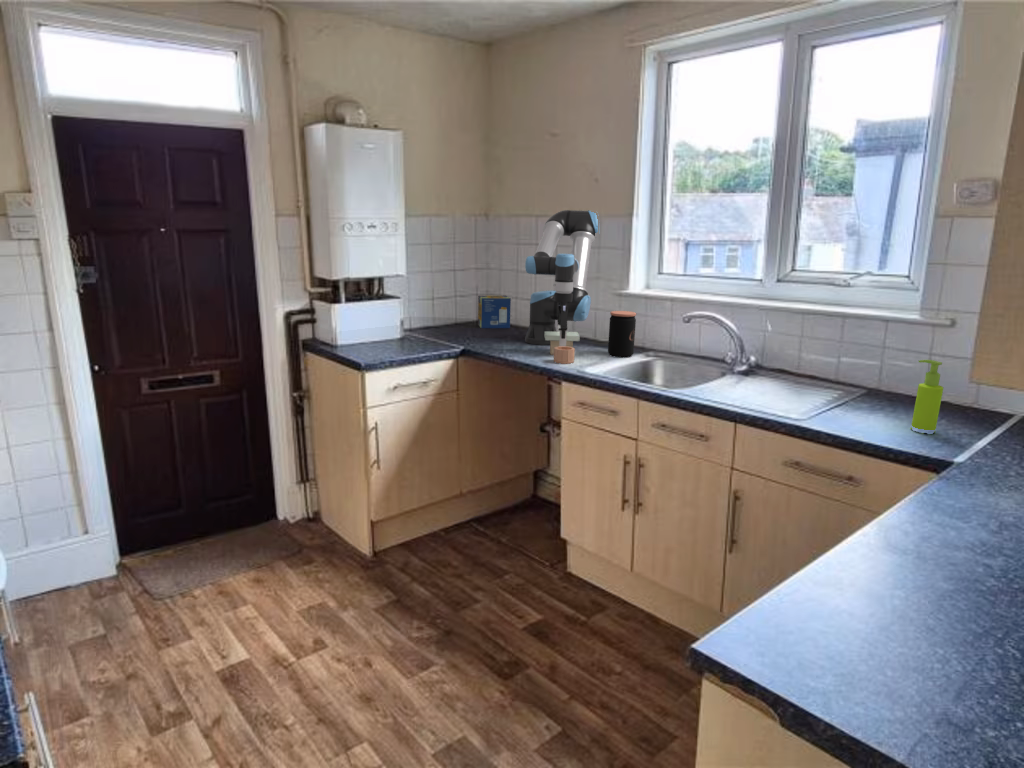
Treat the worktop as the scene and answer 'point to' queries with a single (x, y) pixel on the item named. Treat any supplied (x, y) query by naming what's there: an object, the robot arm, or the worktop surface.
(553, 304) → the robot arm
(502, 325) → the protein box
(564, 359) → the terracotta faceted pot
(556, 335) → the lid
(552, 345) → the riser
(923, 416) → the soap dispenser
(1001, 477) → the worktop surface
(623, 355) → the coffee jar
